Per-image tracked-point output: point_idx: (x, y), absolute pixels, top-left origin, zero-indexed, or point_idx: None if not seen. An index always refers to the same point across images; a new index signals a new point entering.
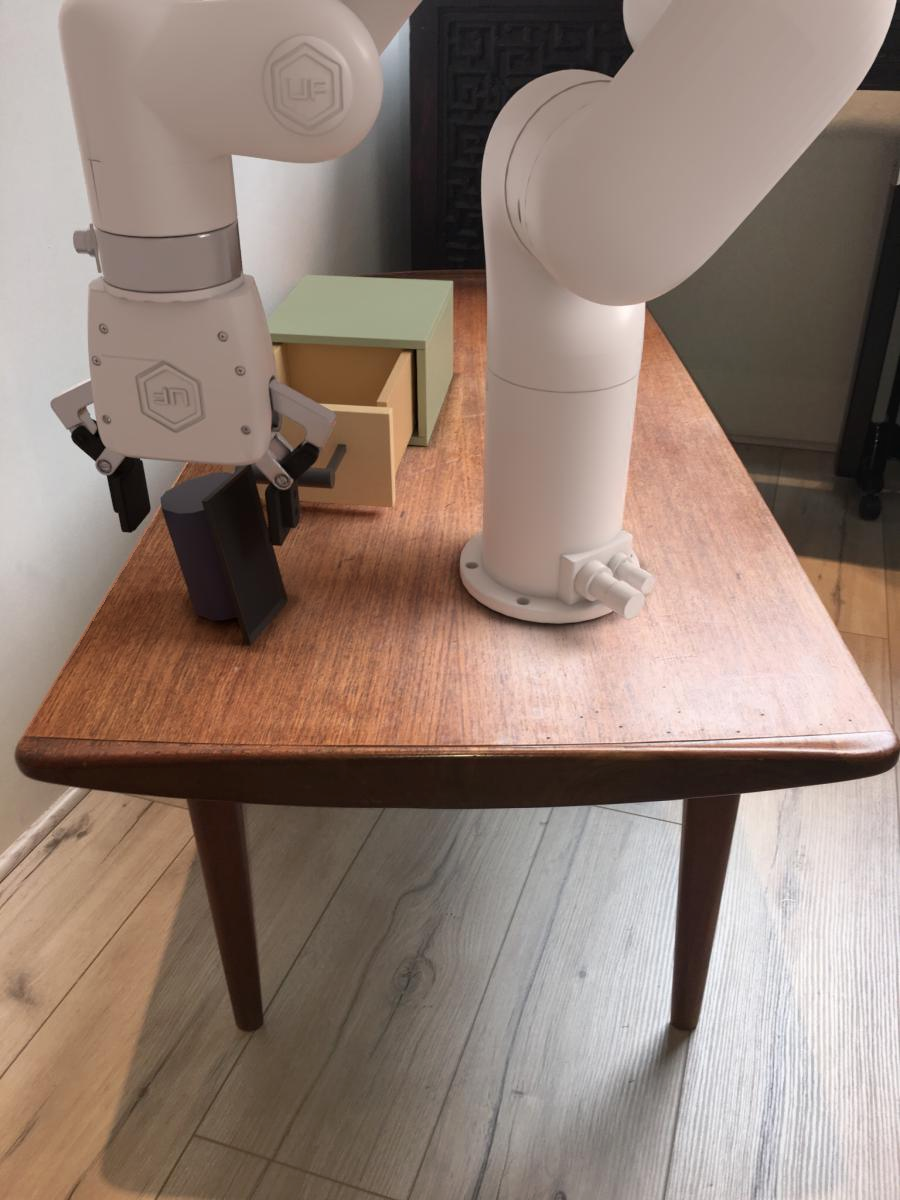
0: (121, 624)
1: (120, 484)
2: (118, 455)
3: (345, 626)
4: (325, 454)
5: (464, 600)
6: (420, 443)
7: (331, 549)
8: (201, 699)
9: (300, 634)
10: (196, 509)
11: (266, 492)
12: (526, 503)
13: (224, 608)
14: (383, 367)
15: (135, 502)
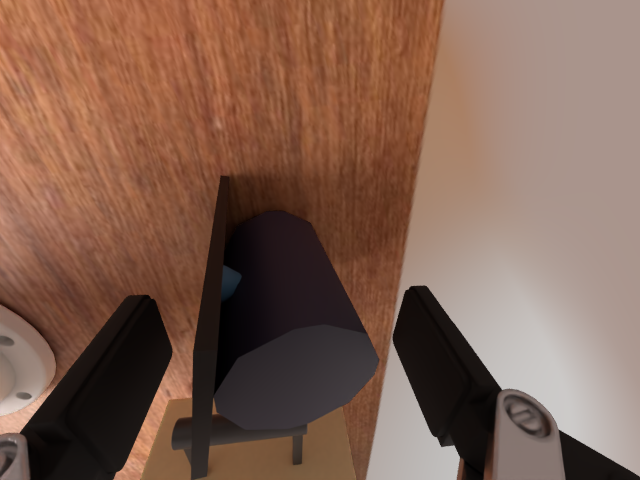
0: (389, 196)
1: (467, 370)
2: (514, 464)
3: (121, 227)
4: (226, 456)
5: (4, 292)
6: None
7: None
8: (236, 42)
9: (169, 205)
10: (290, 340)
11: (71, 414)
12: None
13: (265, 219)
14: None
15: (418, 340)
